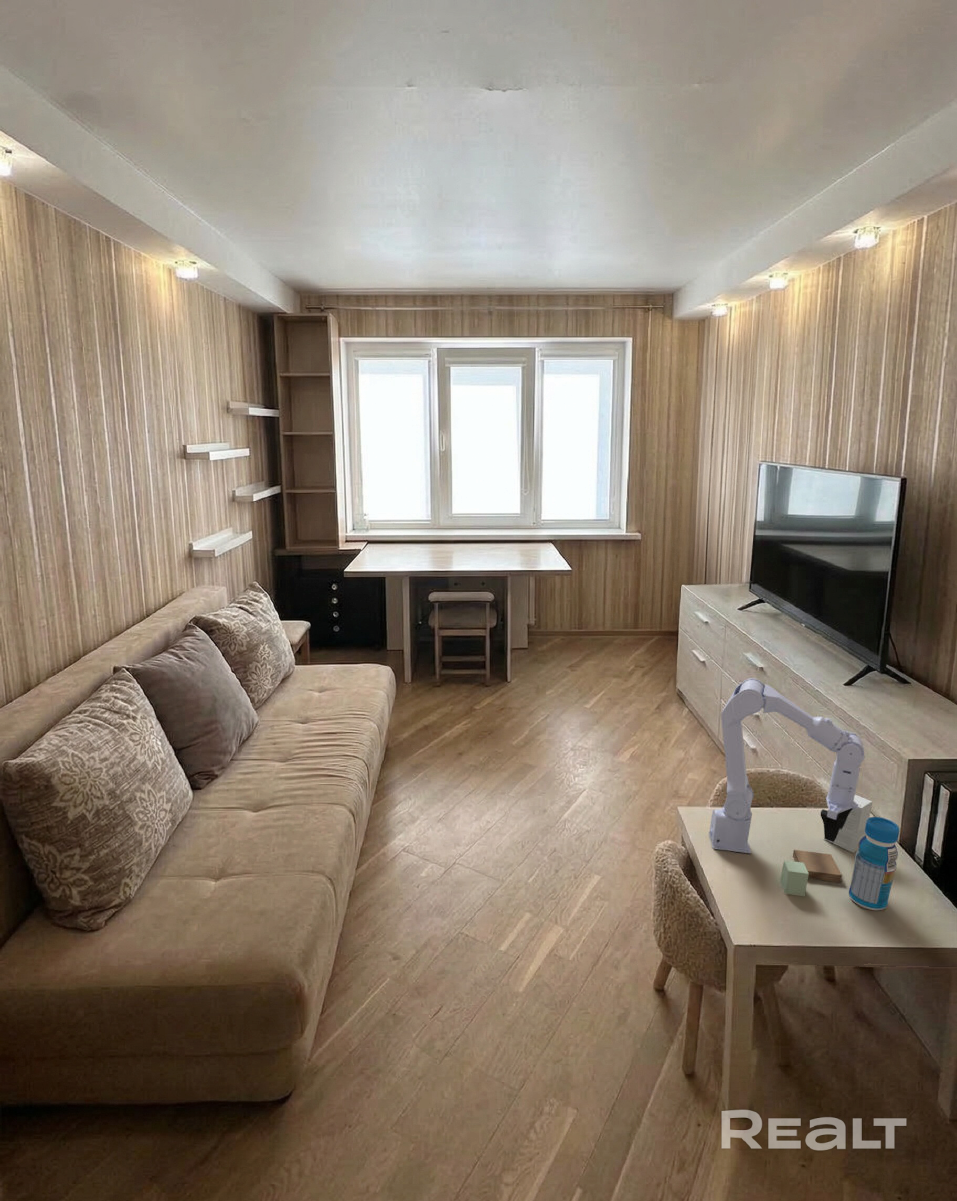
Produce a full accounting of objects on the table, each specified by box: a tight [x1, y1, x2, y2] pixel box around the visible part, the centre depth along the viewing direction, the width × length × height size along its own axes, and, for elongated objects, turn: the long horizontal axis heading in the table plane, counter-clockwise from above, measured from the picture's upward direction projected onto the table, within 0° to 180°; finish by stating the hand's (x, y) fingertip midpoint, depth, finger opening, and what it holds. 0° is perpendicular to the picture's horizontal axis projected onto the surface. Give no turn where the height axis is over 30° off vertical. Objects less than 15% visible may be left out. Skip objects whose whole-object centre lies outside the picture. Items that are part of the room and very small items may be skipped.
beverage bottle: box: [848, 816, 900, 911], centre depth 175 cm, size 8×8×20 cm
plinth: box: [792, 849, 843, 883], centre depth 188 cm, size 9×9×2 cm
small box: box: [823, 794, 873, 853], centre depth 200 cm, size 8×6×13 cm
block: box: [779, 860, 809, 897], centre depth 179 cm, size 4×4×6 cm
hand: (833, 833), depth 187 cm, fingers open, 7 cm apart
